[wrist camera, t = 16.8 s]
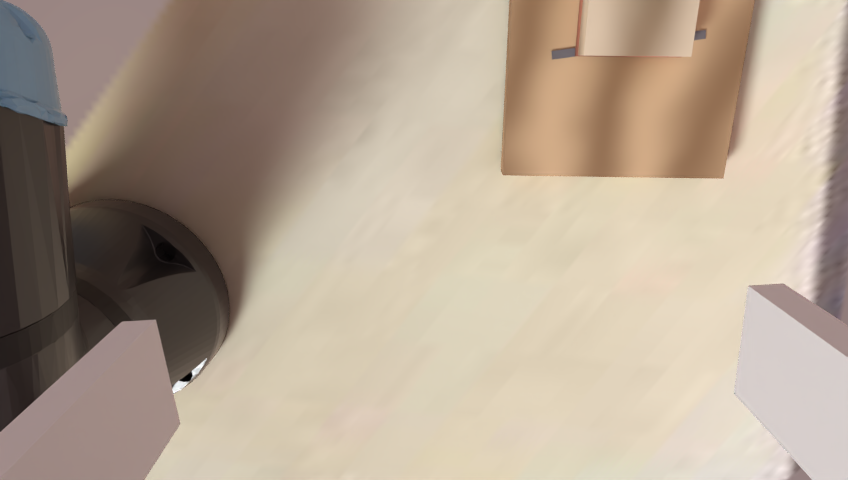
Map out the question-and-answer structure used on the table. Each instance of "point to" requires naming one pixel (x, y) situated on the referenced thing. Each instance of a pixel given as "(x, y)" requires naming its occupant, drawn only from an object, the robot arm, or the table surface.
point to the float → (636, 28)
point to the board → (619, 98)
